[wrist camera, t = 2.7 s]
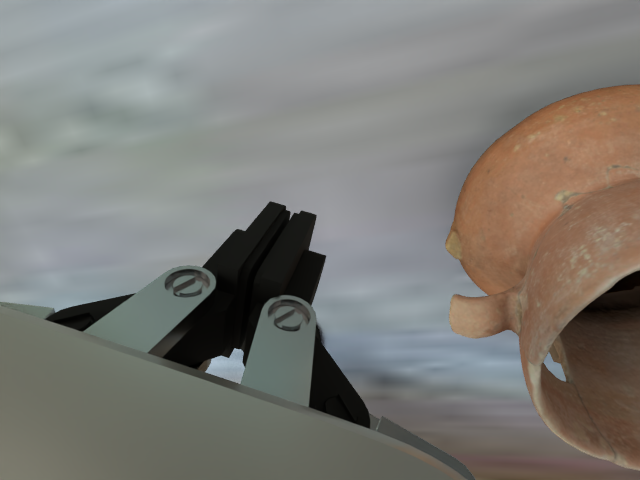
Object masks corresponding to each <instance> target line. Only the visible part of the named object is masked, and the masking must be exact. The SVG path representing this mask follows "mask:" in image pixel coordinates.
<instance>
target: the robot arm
mask: <svg viewBox="0 0 640 480" xmlns="http://www.w3.org/2000/svg"><path fill="white" fill-rule="evenodd" d="M289 219H290V211H287V210H286V206H284V205H281V204H278V203H274V202H271V201H270V202H269V203H268V205H267V206H266V207H265V208H264V209H263V211H262V212H261V213H260V214H259V215H258V217H257V218H256V219H255V220H254V221H253V222H252V224H251V225H250V226H249V227H248V228H247V230H246V231H243V230H239V229H236V230H235V231H234V232H233V233H232V234H231V235H230V237H229V238H228V239H227V240H226V241H225V242H224V243H223V244H222V246H221V247H220V248H219V249H218V250H217V251H216V252H215V253H214V254H213V256H212V257H211V258H210V259H209V260H208V261H207V262H206V263H205V264H204V266H203V267H198V266H190V265H188V266H179V267H176V268H172V269H171V270H169V271H167V272H165V273H164V274H162V275H161V276H160V277H158V278H157V279H155V280H154V281H153V282H151V283H150V284H148V285H147V286H146V287H144V288H143V289H141V290H140V291H139V292H137V293H135V294H130V295H126V296H121V297H116V298H111V299H106V300H102V301H97V302H92V303H87V304H82V305H78V306H73V307H69V308H66V309H63V310H60V311H58V312H56V313H55V310H54V308H49V307H41V306H32V305H24V304H15V303H7V302H0V480H475V478H474V476H473V475H472V474H471V472H470V471H469V470H468V469H467V467H466V466H465V465H463V464H462V463H461V462H460V461H458V460H457V459H456V458H454V457H452V456H451V455H449V454H447V453H445V452H444V451H442V450H440V449H439V448H437V447H435V446H433V445H432V444H430V443H428V442H426V441H425V440H423V439H421V438H419V437H418V436H416V435H414V434H413V433H411V432H409V431H407V430H406V429H404V428H402V427H400V426H399V425H397V424H395V423H393V422H392V421H390V420H388V419H387V418H385V417H383V416H382V417H381V419H380V420H379V419H378V418H376V417H374V416H373V415H371V414H369V412H368V409H367V408H366V406H365V404H364V402H363V400H362V399H361V398H360V396H359V395H358V394H357V392H356V391H355V389H354V388H353V387H352V385H351V384H350V382H349V381H348V380H347V378H346V377H345V375H344V374H343V373H342V371H341V370H340V368H339V367H338V366H337V364H336V363H335V361H334V360H333V359H332V357H331V356H330V354H329V353H328V352H327V350H326V349H325V347H324V346H323V345H322V343H321V342H320V340H319V339H318V338H317V336H316V335H315V330H316V313H315V311H314V309H313V307H312V306H311V305H312V302H313V299H314V296H315V293H316V290H317V287H318V284H319V280H320V277H321V273H322V270H323V266H324V263H325V259H326V256H325V255H322V254H319V253H316V252H312V251H309V246H310V242H311V238H312V233H313V229H314V225H315V221H316V215H315V214H312V213H308V212H305V211H301V212H300V213H299V214H297V213H294V214H293V216H292V217H291V219H290V220H289ZM245 339H246V340H245ZM244 341H245V347H244V355H243V364H244V366H245V370H244V373H243V377H242V380H241V384H238V383H235V382H232V381H229V380H226V379H223V378H220V377H217V376H214V375H211V374H208V373H205V371H206V370H207V368H208V367H209V365H210V363H211V359H212V358H215V357H218V356H221V355H222V356H225V357H228V358H229V357H230V355H231V353H232V351H233V350H234V348H236V349H240V348H241V347H242V345H243V343H244Z"/></svg>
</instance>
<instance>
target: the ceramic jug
mask: <svg viewBox="0 0 640 480" xmlns="http://www.w3.org/2000/svg"><path fill="white" fill-rule="evenodd" d="M445 244H446V249H447V251H448V252H449V253H450V254H451V255H452V256H453V257H454V258H456V259H459V260H460V262H461V265H462V266H463V268H464V270H465V271H466V273H467V274H468V276H469V277H470V278H471V280H472V281H473V282H474V283H475V284H476V285H477V286H478V287H479V288H480V289H481V290H482V291H484V292H485V293H486V294H488V295H489V296H485V297H465V296H461V295H457V294H456V295H453V297H452V299H451V302H450V303H451V306H450V314H449V320H450V321H449V322H450V325H451V327H452V330H453V331H454V332H455V333H457V334H460V335H463V336H465V337H469V338H482V337H488V336H492V335H495V334H498V333H500V332H502V331H505V330H512V331H513V332H515V333H516V334H517V335H518V336H519V344H520V354H521V363H522V368H523V373H524V377H525V381H526V385H527V388H528V391H529V394H530V396H531V399H532V402H533V404H534V406H535V408H536V410H537V412H538V414H539V416H540V417H541V418H542V420H543V421H544V423H545V424H546V425H547V426H548V427H549V429H550V430H551V431H552V432H554V433H555V434H556V435H557V436H558V437H559V438H561V439H562V440H563V441H565V442H566V443H568V444H569V445H571V446H573V447H575V448H577V449H578V450H580V451H582V452H584V453H587V454H589V455H591V456H594V457H596V458H600V459H605V460H609V461H611V462H613V463H615V464H618V465H620V466H623V467H626V468H631V469H635V470H639V471H640V85H622V86H614V87H607V88H601V89H596V90H592V91H588V92H584V93H580V94H577V95H574V96H571V97H568V98H565V99H562V100H560V101H557V102H555V103H552V104H550V105H548V106H546V107H544V108H542V109H540V110H539V111H537V112H535V113H533V114H532V115H530V116H529V117H527V118H526V119H524V120H523V121H521V122H520V123H519V124H517V125H516V126H515V127H513V128H512V129H511V130H509V131H508V132H507V133H505V134H504V135H503V136H501V137H500V138H499V139H497V140H496V141H495V142H494V143H493V144H492V145H491V146H490V147H489V148H488V149H487V150H486V151H485V152H484V153H483V155H482V156H481V157H480V158H479V160H478V161H477V162H476V164H475V165H474V166H473V168H472V169H471V171H470V173H469V174H468V176H467V178H466V180H465V182H464V185H463V187H462V189H461V192H460V195H459V198H458V201H457V205H456V210H455V216H454V221H453V224H452V227H451V230H450V233H449V235H448V237H447V240H446V243H445ZM553 343H554V346H555V348H556V350H557V353H558V355H559V359H560V362H561V366H562V368H563V371H564V374H565V377H566V382H565V381H561V380H560V379H558V378H556V377H555V376H554V375H553V374H552V373H551V372H550V371H549V370H548V369H547V367H546V366H545V364H544V363H543V362H544V359H545V357H546V356H547V354H548V352H549V349H550V347H551V345H552V344H553Z"/></svg>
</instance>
